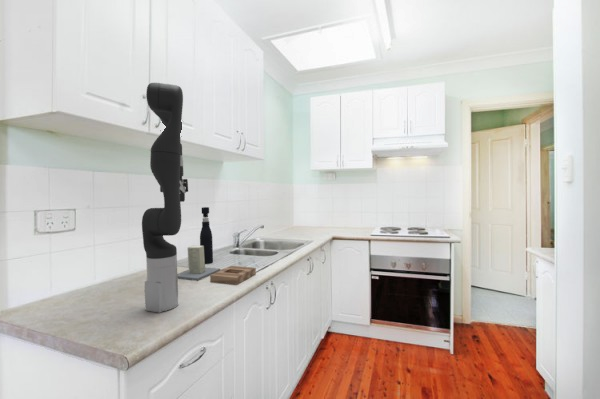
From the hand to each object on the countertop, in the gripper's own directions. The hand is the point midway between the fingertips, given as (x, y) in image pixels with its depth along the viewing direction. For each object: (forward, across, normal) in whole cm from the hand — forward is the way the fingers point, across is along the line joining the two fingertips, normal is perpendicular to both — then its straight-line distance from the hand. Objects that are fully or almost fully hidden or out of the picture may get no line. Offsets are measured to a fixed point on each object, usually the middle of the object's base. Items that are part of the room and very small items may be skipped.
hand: (175, 201), depth 130 cm
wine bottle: (+34, +27, +5) cm, 44 cm away
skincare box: (+33, +7, -5) cm, 34 cm away
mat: (+34, +7, -5) cm, 35 cm away
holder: (+34, +7, -25) cm, 43 cm away
